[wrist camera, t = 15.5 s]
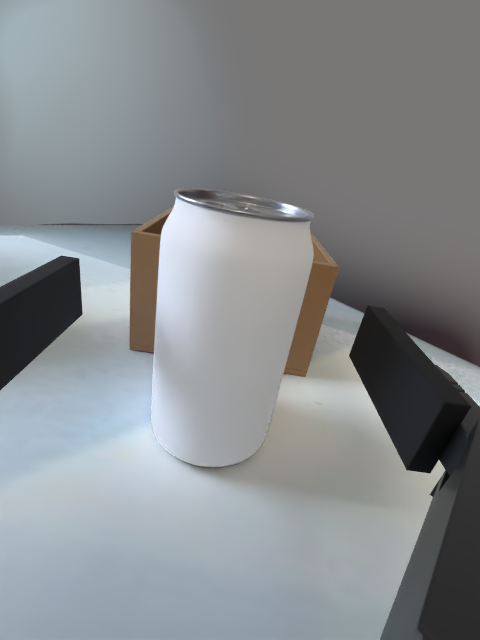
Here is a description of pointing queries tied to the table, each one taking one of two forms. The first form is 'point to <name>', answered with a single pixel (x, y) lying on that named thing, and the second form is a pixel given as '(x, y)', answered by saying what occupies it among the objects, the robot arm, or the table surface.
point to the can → (225, 321)
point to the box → (146, 283)
